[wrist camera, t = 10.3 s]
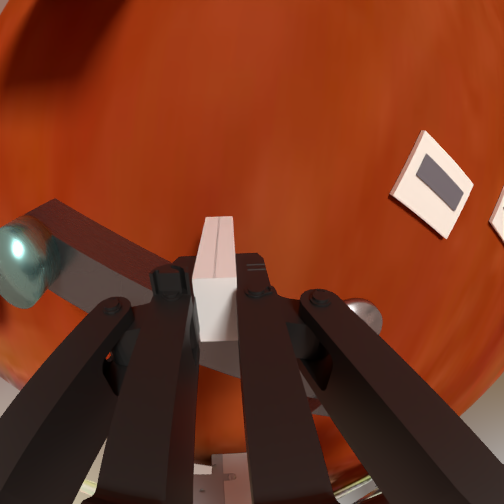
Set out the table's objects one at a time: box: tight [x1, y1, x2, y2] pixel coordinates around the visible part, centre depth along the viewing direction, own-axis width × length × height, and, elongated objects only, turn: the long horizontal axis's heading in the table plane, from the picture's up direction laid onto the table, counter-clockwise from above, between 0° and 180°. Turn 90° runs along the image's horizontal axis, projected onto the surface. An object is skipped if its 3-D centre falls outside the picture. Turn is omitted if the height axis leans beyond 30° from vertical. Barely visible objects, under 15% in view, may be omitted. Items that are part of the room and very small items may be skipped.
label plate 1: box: [390, 130, 473, 239], centre depth 18 cm, size 8×6×1 cm
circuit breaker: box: [193, 453, 252, 504], centre depth 28 cm, size 8×14×15 cm, turn 94°
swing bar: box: [0, 199, 329, 416], centre depth 13 cm, size 22×5×6 cm, turn 58°
